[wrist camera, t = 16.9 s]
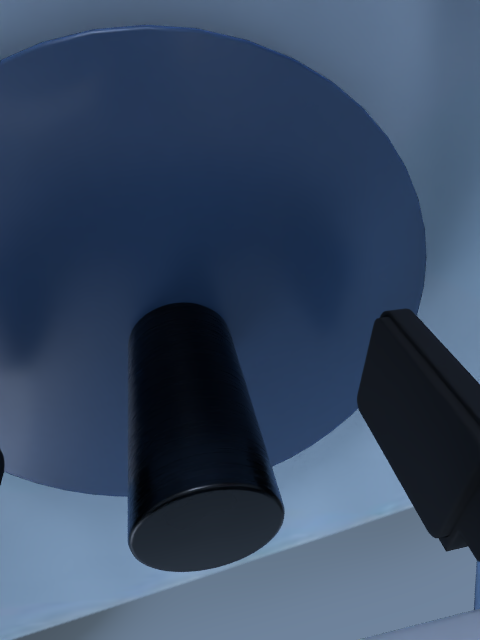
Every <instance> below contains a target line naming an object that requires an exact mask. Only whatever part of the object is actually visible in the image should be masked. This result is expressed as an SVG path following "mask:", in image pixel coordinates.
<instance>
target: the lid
mask: <svg viewBox="0 0 480 640" xmlns="http://www.w3.org/2000/svg"><path fill="white" fill-rule="evenodd" d="M425 267H426V243H425V228H424V223H423V219H422V214H421V210H420V205H419V200H418V197H417V194H416V192H415V189H414V187H413V184H412V181H411V179H410V176H409V174H408V171H407V169H406V167H405V165H404V163H403V162H402V160H401V158H400V157H399V155H398V153H397V151H396V150H395V148H394V146H393V145H392V143H391V141H390V140H389V138H388V137H387V135H386V134H385V133H384V132H383V131H382V130H381V128H380V127H379V126H378V125H377V124H376V122H375V121H374V120H373V119H372V118H371V117H370V115H369V114H368V113H367V112H366V111H365V110H364V108H363V107H361V106H360V105H359V104H358V103H357V102H355V101H354V100H353V99H352V98H351V97H350V96H348V95H347V94H346V93H345V92H344V91H342V90H341V89H340V88H339V87H338V86H337V85H335V84H334V83H333V82H332V81H330V80H329V79H327V78H325V77H324V76H322V75H320V74H319V73H317V72H315V71H314V70H312V69H310V68H309V67H307V66H305V65H304V64H302V63H300V62H298V61H297V60H295V59H293V58H291V57H289V56H286V55H284V54H281V53H279V52H276V51H274V50H271V49H269V48H266V47H264V46H261V45H259V44H256V43H254V42H251V41H248V40H245V39H241V38H237V37H233V36H228V35H224V34H219V33H215V32H211V31H206V30H202V29H197V28H186V27H171V26H156V25H136V26H125V27H114V28H103V29H92V30H88V31H84V32H80V33H76V34H72V35H68V36H64V37H60V38H57V39H53V40H49V41H45V42H41V43H39V44H36V45H34V46H32V47H30V48H27V49H25V50H23V51H20V52H18V53H16V54H14V55H11V56H9V57H7V58H4V59H2V60H0V449H1V451H2V453H3V456H4V461H5V468H4V472H7V473H9V474H11V475H14V476H17V477H20V478H23V479H26V480H29V481H32V482H35V483H38V484H42V485H46V486H50V487H54V488H58V489H62V490H67V491H74V492H80V493H86V494H94V495H107V496H128V545H129V548H130V550H131V552H132V554H133V555H134V557H135V558H136V559H137V560H139V561H140V562H141V563H143V564H145V565H147V566H149V567H152V568H155V569H159V570H164V571H172V572H191V571H200V570H206V569H212V568H216V567H220V566H223V565H227V564H230V563H232V562H235V561H238V560H240V559H242V558H244V557H247V556H248V555H250V554H252V553H254V552H256V551H257V550H259V549H260V548H262V547H263V546H264V545H266V544H267V543H268V542H269V541H270V540H271V539H272V538H273V537H274V536H275V535H276V534H277V532H278V531H279V529H280V528H281V526H282V523H283V520H284V505H283V502H282V499H281V495H280V492H279V489H278V486H277V482H276V479H275V476H274V473H273V469H272V466H274V465H276V464H279V463H281V462H283V461H285V460H287V459H289V458H291V457H293V456H294V455H296V454H298V453H299V452H301V451H303V450H305V449H306V448H308V447H310V446H311V445H313V444H314V443H316V442H317V441H319V440H320V439H321V438H323V437H324V436H326V435H327V434H329V433H330V432H331V431H333V430H334V429H335V428H336V427H337V426H339V425H340V424H341V423H342V422H343V421H345V420H346V419H347V418H348V417H350V416H351V415H352V414H353V413H354V412H355V411H356V410H357V409H358V404H357V394H358V390H359V386H360V381H361V377H362V373H363V368H364V364H365V359H366V355H367V351H368V346H369V342H370V338H371V333H372V329H373V325H374V321H375V320H376V319H377V318H380V316H381V314H382V313H383V312H384V311H390V310H397V309H405V308H407V309H410V310H411V311H412V312H413V313H414V314H415V315H417V313H418V309H419V304H420V300H421V296H422V291H423V287H424V279H425Z"/></svg>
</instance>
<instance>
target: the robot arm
mask: <svg viewBox="0 0 480 640" xmlns="http://www.w3.org/2000/svg"><path fill="white" fill-rule="evenodd" d="M357 404H358V408H359V411H360V413H361V414H362V416H363V418H364V420H365V421H366V423H367V425H368V427H369V428H370V430H371V432H372V434H373V435H374V437H375V439H376V441H377V443H378V444H379V446H380V448H381V450H382V451H383V453H384V455H385V457H386V458H387V460H388V462H389V464H390V465H391V467H392V469H393V471H394V473H395V474H396V476H397V478H398V480H399V481H400V483H401V485H402V487H403V488H404V490H405V492H406V494H407V495H408V497H409V499H410V501H411V502H412V504H413V506H414V508H415V510H416V511H417V513H418V515H419V516H420V518H421V520H422V522H423V524H424V525H425V527H426V529H427V530H428V532H429V533H430V534H431V535H432V536H433V537H434V538H439V540H440V541H441V543H442V545H443V547H444V548H445V550H446V551H450V550H454V549H459V548H463V547H467V546H468V547H469V548H470V550H471V551H472V553H473V555H474V556H475V558H476V559H477V566H476V584H475V601H474V610H473V611H469V612H465V613H460V614H457V615H453V616H449V617H445V618H441V619H437V620H433V621H429V622H425V623H421V624H418V625H414V626H410V627H406V628H402V629H398V630H394V631H391V632H386V633H382V634H379V635H375V636H371V637H367V638H363V639H359V640H480V384H479V383H478V382H477V381H476V380H475V379H474V378H473V377H472V375H471V374H470V373H469V372H468V371H467V370H466V369H465V368H464V367H463V366H462V365H461V364H460V362H459V361H458V360H457V359H456V358H455V357H454V356H453V355H452V354H451V353H450V352H449V351H448V349H447V348H446V347H445V346H444V345H443V344H442V343H441V342H440V341H439V340H438V339H437V338H436V336H435V335H434V334H433V333H432V332H431V331H430V330H429V329H428V328H427V327H426V326H425V325H424V323H423V322H422V321H421V320H420V319H419V318H418V317H417V316H416V315H415V314H414V313H413V312H412V311H411V310H410V309H407V308H405V309H397V310H390V311H384V312H383V313H382V314H381V316H380V318H377V319H376V320H375V321H374V325H373V329H372V333H371V338H370V342H369V346H368V351H367V355H366V359H365V364H364V368H363V373H362V377H361V381H360V386H359V390H358V394H357ZM4 468H5V461H4V456H3V453H2V451H1V449H0V484H1V481H2V477H3V473H4Z"/></svg>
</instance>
